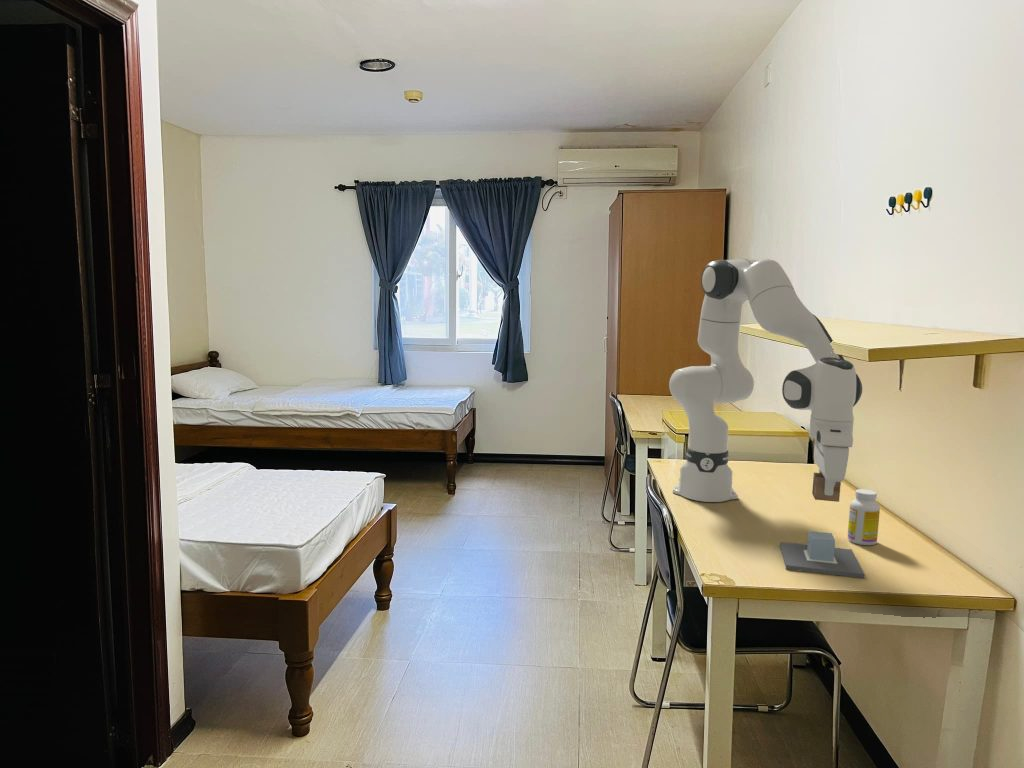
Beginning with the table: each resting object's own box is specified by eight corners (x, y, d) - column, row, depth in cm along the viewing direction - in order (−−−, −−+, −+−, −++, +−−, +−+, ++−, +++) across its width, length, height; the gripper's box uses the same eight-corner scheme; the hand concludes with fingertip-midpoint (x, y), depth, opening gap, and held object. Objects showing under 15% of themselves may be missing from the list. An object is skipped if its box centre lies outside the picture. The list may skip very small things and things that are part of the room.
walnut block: (812, 493, 166) (813, 472, 165) (835, 495, 164) (837, 474, 164) (815, 499, 161) (816, 478, 160) (839, 501, 160) (841, 480, 159)
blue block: (806, 551, 168) (808, 530, 167) (829, 553, 167) (831, 533, 166) (809, 559, 163) (811, 538, 163) (833, 561, 162) (835, 540, 161)
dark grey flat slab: (779, 545, 174) (780, 541, 174) (851, 553, 170) (851, 549, 170) (786, 569, 160) (786, 564, 160) (864, 578, 156) (864, 573, 156)
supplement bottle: (880, 541, 178) (885, 492, 176) (871, 548, 174) (876, 497, 172) (852, 534, 183) (857, 486, 181) (842, 541, 178) (847, 491, 176)
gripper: (809, 421, 171) (805, 477, 173) (822, 439, 152) (817, 502, 154) (838, 423, 170) (833, 479, 172) (854, 441, 150) (849, 505, 152)
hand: (825, 490), depth 163 cm, fingers closed on walnut block, 5 cm apart
